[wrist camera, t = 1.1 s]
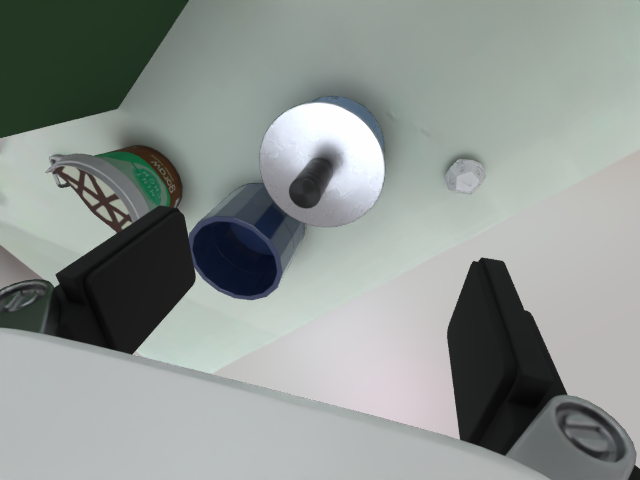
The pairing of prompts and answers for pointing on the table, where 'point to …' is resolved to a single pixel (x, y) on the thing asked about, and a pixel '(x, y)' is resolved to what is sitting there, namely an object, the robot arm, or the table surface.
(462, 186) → the game die
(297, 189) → the lid
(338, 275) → the table surface
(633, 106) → the table surface
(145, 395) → the robot arm
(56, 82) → the binder
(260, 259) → the pot
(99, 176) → the food container
